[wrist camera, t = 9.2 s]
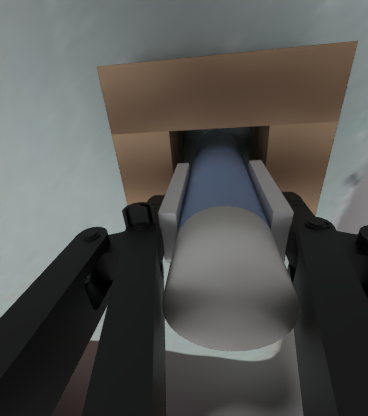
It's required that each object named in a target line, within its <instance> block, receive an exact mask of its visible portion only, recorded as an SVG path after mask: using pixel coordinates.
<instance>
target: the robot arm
mask: <svg viewBox="0 0 368 416" xmlns="http://www.w3.org/2000/svg"><path fill="white" fill-rule="evenodd" d="M248 174H249V176H250V179H251V181H252V184H253V186H254V189H255V191H256V194H257V196H258V199H259V201H260V204H261V206H262V209H263V211H264V214H265V216H266V219H267V221H268V224H269V226H270V229H271V231H272V234H273V236H274V239H275V241H276V244H277V246H278V249H279V251H280V254H281V256H282V259H283V261H285V256H287V259H288V261H289V265H288V270H287V271H288V274H289V276H290V279H291V281H292V284H293V286H294V289H295V291H296V294H297V296H298V299H299V303H300V315H299V318H298V321H297V323H296V325H295V326H294V335H295V344H296V353H297V362H298V371H299V379H300V388H301V397H302V406H303V415H304V416H368V225H367V226H363V227H362V228H360V230H359V233H358V235H357V234H350V233H345V232H339V231H336V229H335V227H334V226H333V224H332V223H331V222H329V221H327V220H325V219H323V218H320V217H315V215H314V214H313V213H312V211H311V210H310V209H309V208H308V206H306V204H305V202H303V200H302V198H301V197H300V196H299V195H297V194H296V193H294V192H281V191H280V189H279V188H278V186H277V184H276V183H275V181H274V180H273V178H272V176H271V175H270V173H269V172H268V170H267V168H266V167H265V165H264V164H263V162H262V160H252V161H249V170H248ZM189 177H190V170H189V163H178V164H177V167H176V169H175V172H174V174H173V177H172V179H171V182H170V184H169V187H168V189H167V192H166V194H165V195H154V196H152V197H151V198H150V199H148V201H147V202H137V203H133V204H130V205H128V206H126V207H125V208H124V209H123V210H122V213H123V217H124V221H125V225H126V230H125V231H124V232H121V233H116V234H111V235H108V233H107V230H106V229H105V228H102V227H92V228H88V229H86V230H84V231H82V232H81V233H79V234H78V235H77V236H76V237H75V238H74V239H73V240H72V241H71V242H70V243H69V245H68V246H67V247H66V248H65V249H64V250H63V251H62V252H61V253H60V254H59V255H58V256H57V257H56V259H55V260H54V261H53V262H52V263H51V264H50V265H49V266H48V267H47V268H46V269H45V270H44V271H43V273H42V274H41V275H40V276H39V277H38V278H37V279H36V280H35V281H34V282H33V283H32V284H31V285H30V287H29V288H28V289H27V290H26V291H25V292H24V293H23V294H22V295H21V296H20V297H19V298H18V300H17V301H16V302H15V303H14V304H13V305H12V306H11V307H10V308H9V309H8V310H7V311H6V312H5V314H4V315H3V316H2V317H1V318H0V416H52V414H53V412H54V410H55V408H56V406H57V404H58V402H59V400H60V398H61V396H62V394H63V392H64V390H65V388H66V386H67V384H68V382H69V380H70V378H71V376H72V374H73V372H74V370H75V369H76V366H77V365H78V362H79V361H80V359H81V357H82V355H83V353H84V351H85V349H86V347H87V345H88V343H89V341H90V339H91V337H92V335H93V333H94V331H95V329H96V327H97V325H98V323H99V321H100V319H101V317H102V315H103V313H104V311H105V309H106V307H107V310H106V315H105V319H104V323H103V327H102V332H101V336H100V340H99V344H98V349H97V353H96V357H95V361H94V366H93V370H92V374H91V378H90V383H89V387H88V391H87V395H86V400H85V404H84V408H83V412H82V416H167V415H166V371H165V370H166V368H165V367H166V366H165V317H164V314H163V310H162V301H163V295H164V269H163V262H162V260H163V257H165V262H167V263H171V259H172V254H173V250H174V245H175V241H176V236H177V232H178V227H179V223H180V218H181V214H182V209H183V205H184V200H185V195H186V191H187V186H188V182H189ZM107 305H108V306H107Z"/></svg>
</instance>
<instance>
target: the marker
mask: <svg viewBox="0 0 368 416" xmlns="http://www.w3.org/2000/svg"><path fill="white" fill-rule="evenodd" d="M162 310H163V314H164V317H165V319H166V321H167V322H168V324H169V325H170V326H171V328H172V329H173V330H174V331H175V332H177V333H178V334H179V335H180V336H182V337H183V338H185V339H187V340H188V341H190V342H192V343H195V344H197V345H200V346H203V347H206V348H210V349H215V350H222V351H246V350H253V349H258V348H261V347H265V346H268V345H270V344H273V343H275V342H277V341H279V340H280V339H282V338H283V337H285V336H286V335H287V334H288V333H289V332H290V331H291V330H292V329H293V328H294V326H295V325H296V323H297V321H298V318H299V315H300V303H299V299H298V296H297V294H296V291H295V289H294V286H293V284H292V281H291V279H290V276H289V274H288V271H287V269H286V266H285V264H284V261H283V259H282V256H281V254H280V251H279V249H278V246H277V244H276V241H275V239H274V236H273V234H272V231H271V229H270V226H269V224H268V221H267V219H266V216H265V214H264V211H263V209H262V206H261V204H260V201H259V199H258V196H257V194H256V191H255V189H254V186H253V184H252V181H251V179H250V176H249V174H248V171H247V169H246V166H245V164H244V161H243V159H242V156H241V154H240V151H239V149H238V146H237V144H236V141H235V139H234V138H233V136H232V135H231V134H230V133H228V132H227V131H225V130H221V129H213V130H210V131H208V132H206V133H204V134H203V135H202V136H201V137H200V139H199V140H198V143H197V146H196V150H195V155H194V159H193V164H192V168H191V173H190V177H189V182H188V186H187V191H186V195H185V200H184V205H183V209H182V214H181V218H180V223H179V227H178V232H177V236H176V241H175V245H174V250H173V254H172V259H171V263H170V268H169V273H168V277H167V282H166V286H165V291H164V295H163V301H162Z"/></svg>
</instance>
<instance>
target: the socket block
mask: <svg viewBox="0 0 368 416" xmlns="http://www.w3.org/2000/svg"><path fill="white" fill-rule="evenodd" d="M357 43H358V41H351V42H341V43H331V44H321V45H311V46H300V47H290V48H280V49H270V50H260V51H250V52H239V53H229V54H219V55H209V56H199V57H188V58H178V59H168V60H158V61H148V62H138V63H127V64H117V65H107V66H97V70H98V75H99V79H100V84H101V88H102V93H103V97H104V102H105V106H106V111H107V115H108V120H109V124H110V129H111V133H112V138H113V142H114V147H115V151H116V156H117V160H118V165H119V169H120V174H121V178H122V183H123V187H124V192H125V196H126V201H127V205H130V204H133V203H137V202H147V201H148V199H150V198H151V197H152V196H154V195H165V194H166V192H167V189H168V187H169V184H170V182H171V179H172V177H173V174H174V172H175V169H176V167H177V164H178V163H184V152H183V138H182V131H184V130H201V129H219V128H236V127H251V139H250V154H249V161H252V160H262V162H263V164H264V165H265V167H266V168H267V170H268V172H269V173H270V175H271V176H272V178H273V180H274V181H275V183H276V184H277V186H278V188H279V189H280V191H281V192H294V193H296V194H297V195H299V196H300V197H301V198H302V200H303V202H305V204H306V206H308V208H309V209H310V210H311V211H312V213H313V214H314V215H316V211H317V207H318V203H319V198H320V194H321V190H322V186H323V182H324V178H325V174H326V170H327V166H328V162H329V157H330V153H331V149H332V145H333V141H334V137H335V133H336V129H337V125H338V121H339V117H340V112H341V108H342V104H343V100H344V96H345V92H346V88H347V84H348V80H349V76H350V71H351V67H352V63H353V59H354V55H355V51H356V47H357ZM248 170H249V169H248Z"/></svg>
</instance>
